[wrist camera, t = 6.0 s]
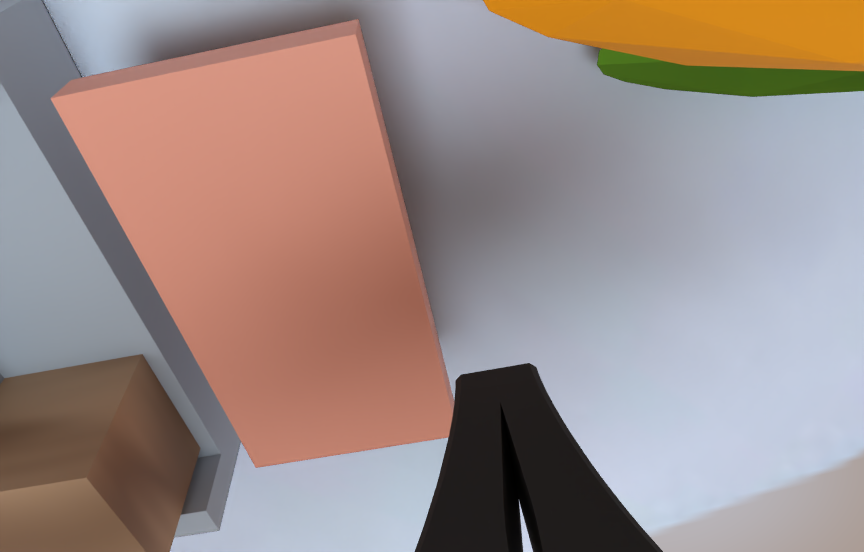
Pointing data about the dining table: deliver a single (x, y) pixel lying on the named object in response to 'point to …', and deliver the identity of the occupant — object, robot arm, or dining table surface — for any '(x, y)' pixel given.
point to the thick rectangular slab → (275, 237)
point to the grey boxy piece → (84, 261)
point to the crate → (92, 460)
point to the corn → (711, 41)
